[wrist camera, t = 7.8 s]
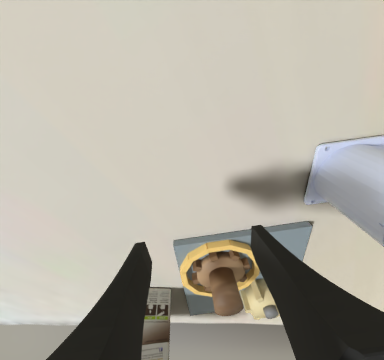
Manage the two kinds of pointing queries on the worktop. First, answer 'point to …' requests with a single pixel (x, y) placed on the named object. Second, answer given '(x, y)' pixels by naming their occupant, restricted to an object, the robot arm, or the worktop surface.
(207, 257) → the planet gear
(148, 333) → the coffee box
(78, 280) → the worktop surface
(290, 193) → the worktop surface
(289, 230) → the carrier plate
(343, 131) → the worktop surface
